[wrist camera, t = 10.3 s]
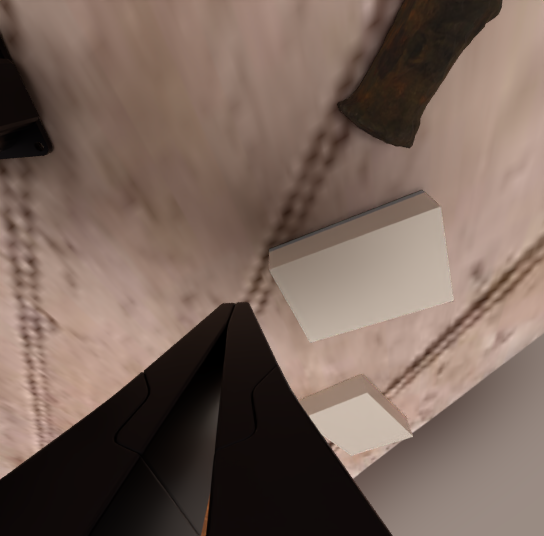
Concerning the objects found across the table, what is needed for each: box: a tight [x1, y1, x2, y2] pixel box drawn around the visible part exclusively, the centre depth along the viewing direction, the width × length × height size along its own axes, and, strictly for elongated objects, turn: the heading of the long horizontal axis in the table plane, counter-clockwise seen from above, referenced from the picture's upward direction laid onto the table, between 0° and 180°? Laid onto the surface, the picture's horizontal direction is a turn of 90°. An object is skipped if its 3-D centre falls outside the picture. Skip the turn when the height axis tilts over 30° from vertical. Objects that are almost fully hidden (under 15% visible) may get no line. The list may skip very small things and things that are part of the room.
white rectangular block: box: [299, 374, 413, 456], centre depth 34 cm, size 3×8×11 cm
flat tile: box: [269, 190, 454, 343], centre depth 22 cm, size 11×8×3 cm
